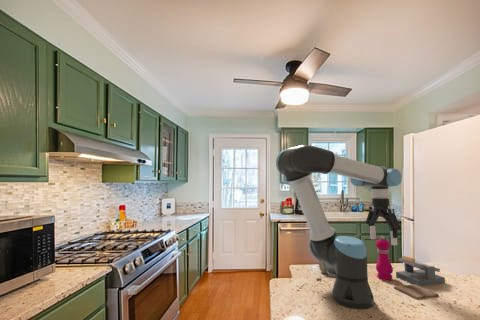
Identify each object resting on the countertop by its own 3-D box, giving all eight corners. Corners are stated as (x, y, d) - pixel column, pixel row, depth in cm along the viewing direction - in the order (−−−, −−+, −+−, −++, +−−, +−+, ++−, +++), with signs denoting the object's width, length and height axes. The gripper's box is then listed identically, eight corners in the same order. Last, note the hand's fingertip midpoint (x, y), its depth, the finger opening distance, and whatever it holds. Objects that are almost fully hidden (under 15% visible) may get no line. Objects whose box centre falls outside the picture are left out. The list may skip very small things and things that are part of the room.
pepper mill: (396, 281, 123) (394, 237, 125) (381, 281, 123) (378, 237, 125) (388, 275, 130) (385, 234, 132) (373, 275, 130) (371, 234, 132)
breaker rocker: (414, 268, 118) (415, 259, 119) (398, 262, 127) (399, 254, 128) (439, 274, 121) (440, 265, 122) (421, 268, 130) (422, 260, 131)
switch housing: (418, 286, 116) (417, 268, 117) (395, 276, 128) (394, 260, 129) (445, 283, 119) (444, 265, 120) (421, 274, 132) (419, 258, 132)
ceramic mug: (318, 271, 138) (317, 255, 138) (332, 269, 140) (331, 255, 140) (328, 278, 128) (328, 262, 128) (343, 277, 129) (343, 261, 130)
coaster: (416, 299, 103) (416, 297, 103) (394, 288, 114) (394, 286, 114) (438, 296, 106) (438, 294, 106) (415, 286, 117) (414, 284, 117)
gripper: (408, 198, 119) (411, 247, 117) (369, 196, 143) (371, 236, 141) (394, 199, 117) (397, 248, 115) (357, 196, 141) (359, 237, 139)
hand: (383, 241), depth 128 cm, fingers open, 13 cm apart
